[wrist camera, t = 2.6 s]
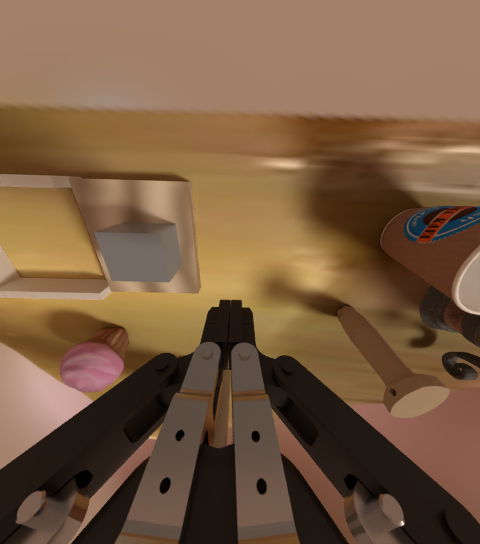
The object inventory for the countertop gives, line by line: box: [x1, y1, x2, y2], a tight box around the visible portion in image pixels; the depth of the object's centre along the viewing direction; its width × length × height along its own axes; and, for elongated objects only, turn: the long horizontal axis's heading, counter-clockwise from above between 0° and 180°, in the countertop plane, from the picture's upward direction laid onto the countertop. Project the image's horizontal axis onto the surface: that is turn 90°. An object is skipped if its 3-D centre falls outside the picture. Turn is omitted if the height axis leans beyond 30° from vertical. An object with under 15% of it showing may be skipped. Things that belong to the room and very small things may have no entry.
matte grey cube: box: [94, 223, 182, 282], centre depth 22 cm, size 7×6×5 cm
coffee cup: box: [380, 206, 480, 315], centre depth 20 cm, size 10×10×12 cm
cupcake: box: [60, 328, 129, 392], centre depth 30 cm, size 9×9×10 cm
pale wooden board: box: [68, 178, 201, 293], centre depth 25 cm, size 14×16×2 cm
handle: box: [337, 306, 450, 418], centre depth 25 cm, size 5×6×15 cm
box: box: [0, 174, 113, 300], centre depth 24 cm, size 17×16×4 cm
